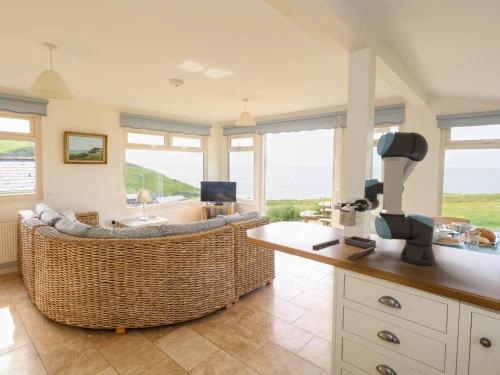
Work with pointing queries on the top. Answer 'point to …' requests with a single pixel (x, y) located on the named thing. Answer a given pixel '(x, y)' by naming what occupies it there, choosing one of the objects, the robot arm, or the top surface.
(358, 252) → the walnut rail lane
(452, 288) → the top surface
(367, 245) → the bin
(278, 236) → the top surface
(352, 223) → the teacup with lid
